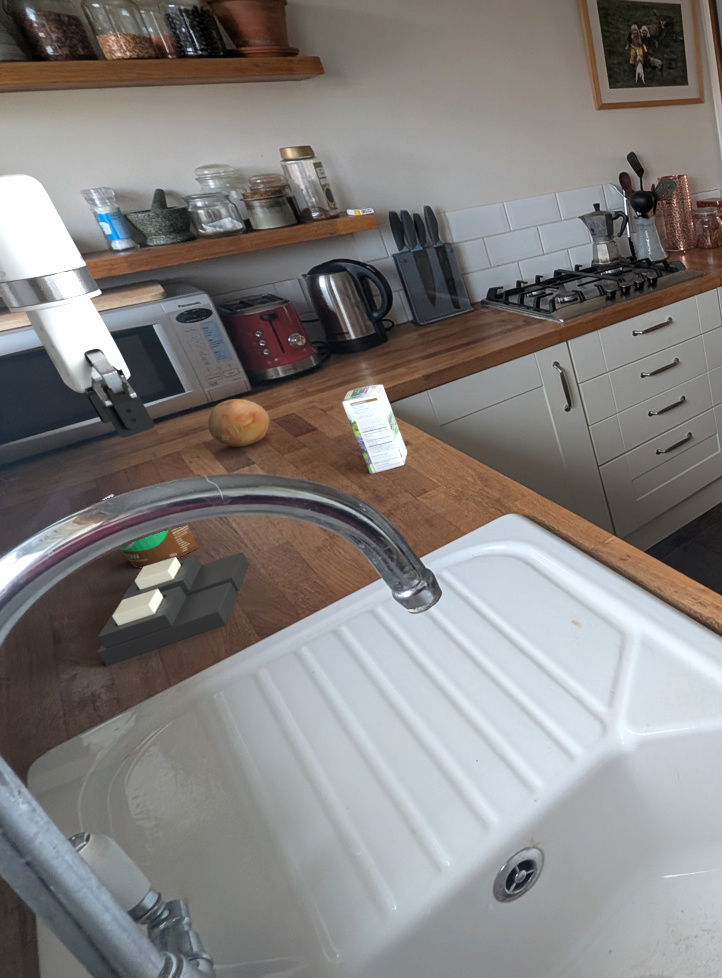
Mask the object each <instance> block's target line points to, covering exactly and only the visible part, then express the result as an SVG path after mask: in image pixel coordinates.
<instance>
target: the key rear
mask: <svg viewBox="0 0 722 978" xmlns="http://www.w3.org/2000/svg"><path fill="white" fill-rule="evenodd" d="M181 567H182V566H181V565H180V563H179V559H177V558H176V557H174V558H171V559H167V560H164V561H161V562H158V563H154V564H151V565H148V566H145V567H143V568H142V569H141V570H140V571H139V572H138V573H139V574H138V573H137V574H138V576H137V575H136V576H137V578H136V579H135V578H134V579H135V583H136V584H137V586H138V587H139V589H140V590H141V589H144V588H147V587H150V586H153V585H157V584H160V583H163V582H166V581H169V580H172V579H175V578H176V576H177V574H178V572H179V570H180V569H181Z"/></svg>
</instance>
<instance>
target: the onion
mask: <svg viewBox="0 0 722 978" xmlns="http://www.w3.org/2000/svg"><path fill="white" fill-rule="evenodd" d="M269 425H270V417H269V414H268V413H267V411H266V410H265V408H263V407H262V406H261V405H259V404H258V403H256V402H253V401H251V400H248V399H243V398H233V399H232V398H231V399H226V400H224V401H221V402H219V403H217V404H216V405H215V406H214V407H213V408H212V409H211V411H210V414H209V418H208V431H209V434H210V435H211V436H212V438H213V439H214V440H215V441H217V442H219V443H221V444H223V445H225V446H228V447H235V448H242V447H247V446H249V445H251V444H254V443H256V442H258V441H260V440H262V439H264V438H265V436H266V434H267V431H268V429H269Z"/></svg>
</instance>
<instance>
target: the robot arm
mask: <svg viewBox="0 0 722 978" xmlns="http://www.w3.org/2000/svg"><path fill="white" fill-rule="evenodd" d="M54 205H55V204H54V203H53V201H52V199H51V198H50V196H49V194H48V192H47V190H46V189H45V188H44V186H43V184H41V182H40V181H39V180H37V179H36V178H35V177H33V176H31V175H28V174H23V173H6V174H5V173H4V174H0V297H1V298H2V300H3V302H4V303H5V305H6V307H7V308H8V310H9V312H10V313H14V314H15V313H23V312H24V313H25V314H26V316H27V319H28V321H29V322H30V325H31V326H32V328H33V330H34V332H35V334H36V336H37V338H38V339H39V341H40V342H41V344H42V346H43V348H44V350H45V351H46V353H47V355H48V356H49V358H50V360H51V361H52V364H53V365H54V367H55V369H56V370H57V372H58V374H59V375H60V378H61V379H62V381H63V383H64V384H65V385H66V386H67V387H69V388H70V389H71V390H73V392H75V393H80V394H84V393H85V396H86V398H87V400H88V401H89V403H90V404H91V406H92V408H93V410H94V411H95V414H96V415H97V417H98V419H99V420H100V422H102V423H104V424H107V423H110V422H111V424H112V426H113V427H114V430H115V432H116V433H117V434H118V436H119V437H120V438H123V439H124V438H128V437H132V436H134V435H137V434H140V433H144V432H146V431H150V430H151V429H154V428H155V426H156V425H155V422H154V420H153V419H152V417H151V415H150V413H149V412H148V410H147V408H146V406H145V404H144V403H143V401H142V399H141V397H140V396H139V395H137V393H136V392H135V390H134V389H133V387H132V386H131V384H130V383H129V381H128V379H130V377H131V373H130V372H131V371H130V369H129V368H128V366H127V364H126V362H125V360H124V357H123V355H122V353H121V352H120V349H119V347H118V346H117V344H116V342H115V339H114V338H113V336H112V335H111V332H110V331H109V329H108V328H107V326H106V324H105V322H104V320H103V318H102V316H101V315H100V313H99V312H98V310H97V308H96V306H95V304H94V303H93V301H92V300H91V299H92V298H94V297H97V296H100V295H101V294H102V291H101V289H100V288H99V287H100V286H98V283H97V281H96V280H95V278H94V276H93V274H92V272H91V271H90V269H89V267H88V266H87V263H86V262H85V260H84V258H83V256H82V254H81V253H80V251H79V249H78V247H77V246H76V244H75V242H74V240H73V238H72V237H71V234H70V233H69V231H68V228H67V227H66V225H65V224H64V222H63V220H62V218H61V216H60V215H59V213H58V211H57V209H56V207H55V206H54Z"/></svg>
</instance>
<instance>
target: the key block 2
mask: <svg viewBox="0 0 722 978" xmlns="http://www.w3.org/2000/svg"><path fill="white" fill-rule="evenodd" d="M160 593H161V594H162V596H163V598H164V600H163V602H162V604H161V606H160V607H159V609H158V611H157V613H155V614H152V615H149V616H146V617H143V618H140V619H137V620H134V621H131V622H128V623H125V624H122V625H119V626H118V625H117V623H116V622H115V620H114V619H113V617H112V616H113V614H114V612H115V611H116V609H117V608H118V606H119V605H117V606H116V607H115V609H114V611H113V612H112V614H111V615H110V617H109V619H108V620H107V622H106V623H105V625H104V627H102V630H101V631H100V633H99V634H98V636H97V638H98V640H99V641H100V643H101V645H100V646H99V649H98V650H97V651H96V654H97V655H98V656H99V658H100V659H101V661H102V662H103V664H104V665H105V666H106V667H108V666H110V665H114V664H117V663H120V662H122V661H125V660H128V659H131V658H134V657H137V656H140V655H142V654H145V653H148V652H150V651H151V652H152V651H154V650H156V649H157V650H158V649H160V648H163V647H165V646H168V645H171V644H174V643H177V642H180V641H183V640H186V639H189V638H191V637H194V636H197V635H200V634H202V633H206V632H208V631H213V630H214V629H217V628H220V627H223V626H225V625H227V624H228V621H229V619H230V616H231V613H232V610H233V608H234V605H235V603H236V600H237V598H238V595H239V594H238V591H236V590H235V589H234V587H233V585H232V583H231V582H228V583H225V584H222V585H219V586H216V587H213V588H210V589H207V590H204V591H201V592H198V593H195V594H192V595H189V596H186V595H185V593H184V592H183V590H182V588H181V587H180V586H179V587H176V588H173V589H170V590H166V591H163V592H160Z"/></svg>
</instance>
